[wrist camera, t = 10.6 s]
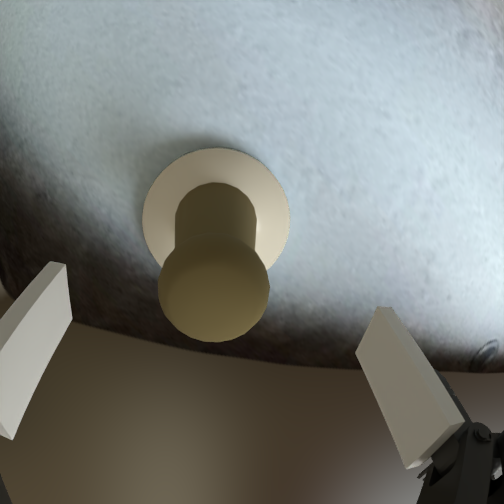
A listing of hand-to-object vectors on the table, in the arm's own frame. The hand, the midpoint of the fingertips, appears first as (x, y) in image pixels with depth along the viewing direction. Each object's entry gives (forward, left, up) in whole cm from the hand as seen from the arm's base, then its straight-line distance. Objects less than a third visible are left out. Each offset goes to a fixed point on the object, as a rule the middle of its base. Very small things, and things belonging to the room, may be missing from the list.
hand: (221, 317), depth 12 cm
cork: (0, 0, -12) cm, 12 cm away
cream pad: (0, 0, -13) cm, 13 cm away
